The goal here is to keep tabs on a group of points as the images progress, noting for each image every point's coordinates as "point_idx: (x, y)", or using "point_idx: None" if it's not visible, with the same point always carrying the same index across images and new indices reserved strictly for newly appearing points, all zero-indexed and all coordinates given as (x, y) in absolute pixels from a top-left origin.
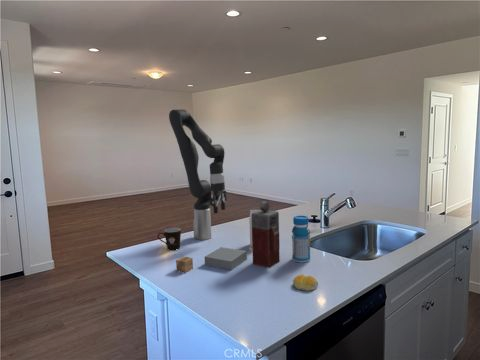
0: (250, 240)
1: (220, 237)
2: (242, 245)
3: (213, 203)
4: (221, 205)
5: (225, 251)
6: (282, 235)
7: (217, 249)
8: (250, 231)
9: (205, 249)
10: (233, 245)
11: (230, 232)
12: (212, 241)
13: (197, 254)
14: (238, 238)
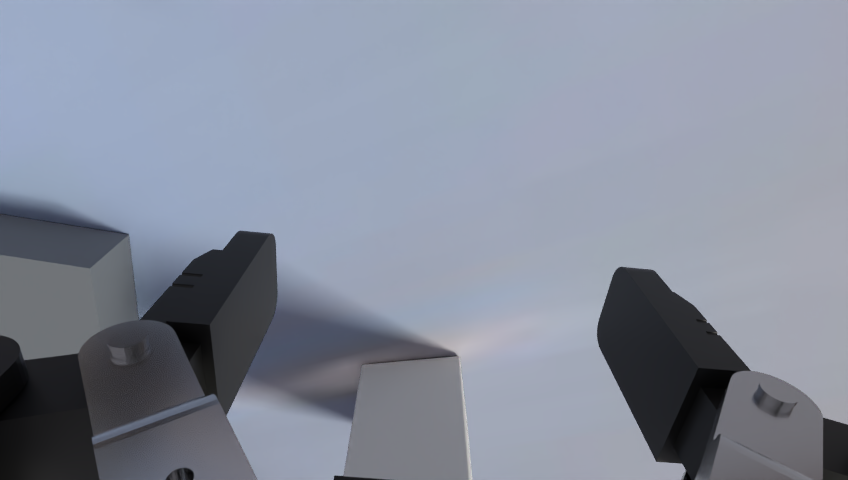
0: (355, 404)
1: (587, 39)
2: (389, 306)
3: (92, 416)
4: (658, 335)
5: (24, 329)
6: (657, 473)
7: (21, 260)
8: (344, 471)
9: (179, 41)
10: (370, 246)
11: (783, 84)
12: (434, 4)
13: (24, 23)
14: (566, 227)
